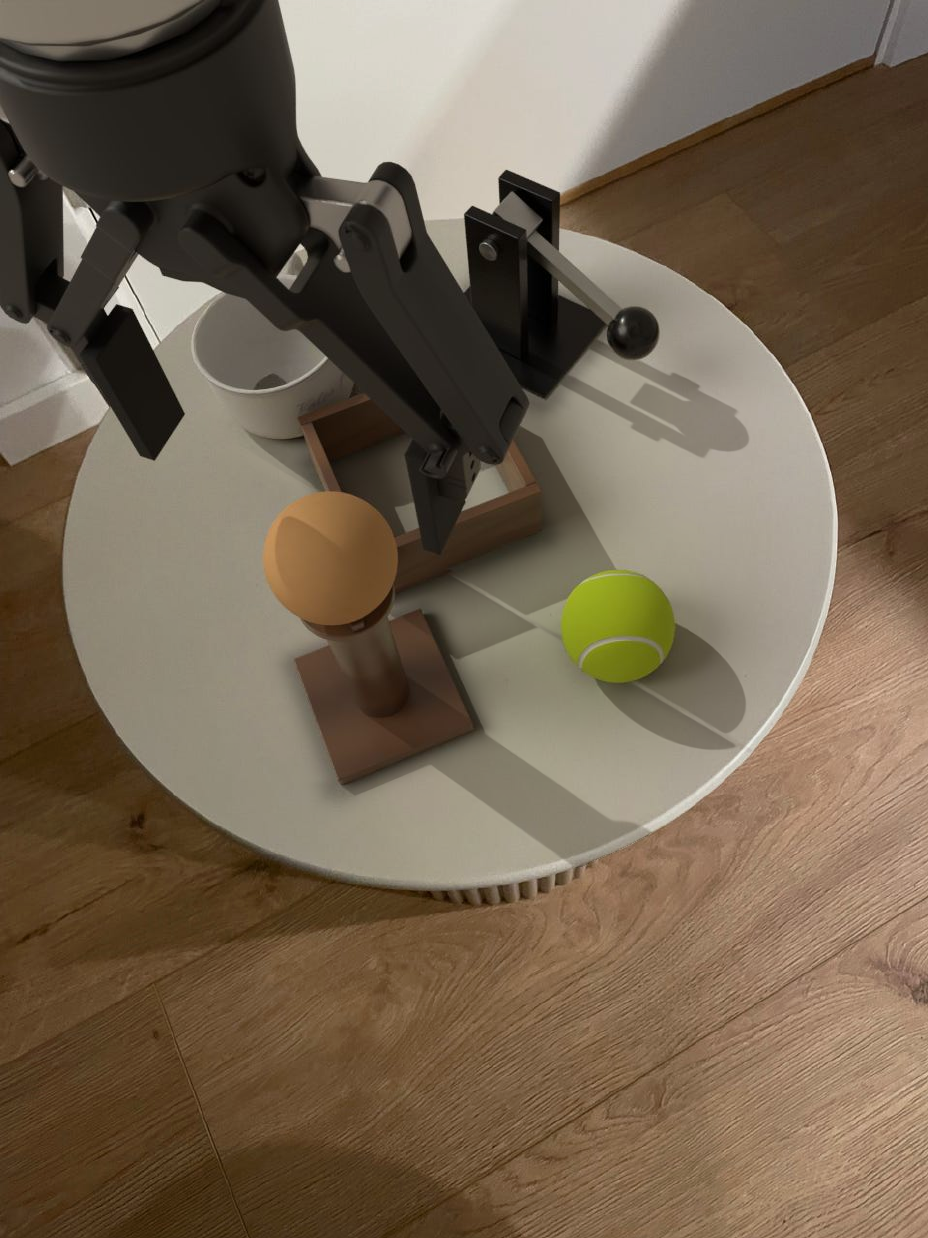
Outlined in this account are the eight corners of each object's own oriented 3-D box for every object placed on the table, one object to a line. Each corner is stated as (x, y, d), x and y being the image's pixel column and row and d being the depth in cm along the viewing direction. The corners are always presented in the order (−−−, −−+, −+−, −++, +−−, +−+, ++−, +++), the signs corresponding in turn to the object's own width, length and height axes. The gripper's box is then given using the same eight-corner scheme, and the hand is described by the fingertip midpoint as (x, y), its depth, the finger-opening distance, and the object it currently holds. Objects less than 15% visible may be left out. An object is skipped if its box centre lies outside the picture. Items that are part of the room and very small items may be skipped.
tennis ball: (673, 697, 63) (687, 651, 57) (563, 701, 64) (565, 656, 57) (662, 600, 66) (674, 546, 60) (557, 604, 67) (558, 551, 60)
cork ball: (424, 618, 50) (408, 552, 44) (303, 666, 50) (271, 606, 44) (380, 519, 53) (360, 445, 47) (264, 563, 52) (230, 494, 47)
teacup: (335, 471, 73) (312, 401, 66) (199, 444, 75) (163, 373, 68) (392, 329, 79) (377, 250, 71) (265, 307, 81) (238, 228, 73)
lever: (653, 345, 71) (678, 321, 68) (627, 378, 70) (651, 356, 67) (503, 209, 70) (521, 178, 66) (473, 241, 68) (490, 211, 65)
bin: (542, 537, 69) (542, 491, 64) (372, 605, 68) (358, 562, 62) (472, 407, 75) (467, 353, 69) (314, 466, 73) (296, 416, 68)
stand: (474, 731, 63) (455, 624, 49) (341, 787, 62) (284, 693, 48) (422, 616, 67) (392, 487, 53) (296, 666, 66) (232, 548, 52)
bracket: (608, 328, 77) (619, 191, 66) (543, 407, 74) (544, 277, 63) (491, 273, 80) (483, 134, 69) (425, 346, 78) (405, 213, 66)
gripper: (665, -37, 22) (605, 493, 41) (-197, -188, 28) (99, 340, 47) (547, 187, 19) (541, 647, 38) (-389, -31, 25) (10, 464, 44)
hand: (298, 479), depth 43 cm, fingers open, 13 cm apart
